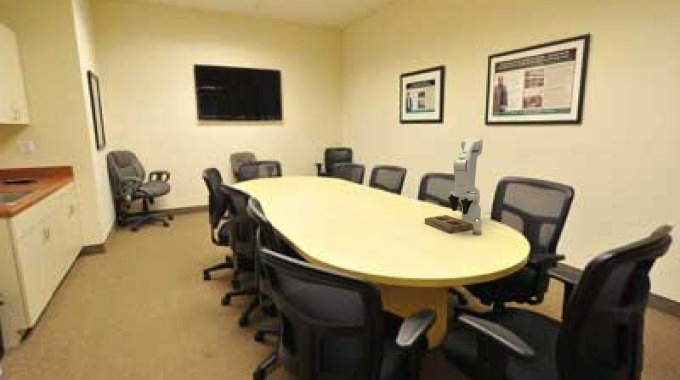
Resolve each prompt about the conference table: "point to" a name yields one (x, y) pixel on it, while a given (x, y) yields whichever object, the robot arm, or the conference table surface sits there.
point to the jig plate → (448, 224)
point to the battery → (477, 226)
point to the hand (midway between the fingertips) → (459, 212)
